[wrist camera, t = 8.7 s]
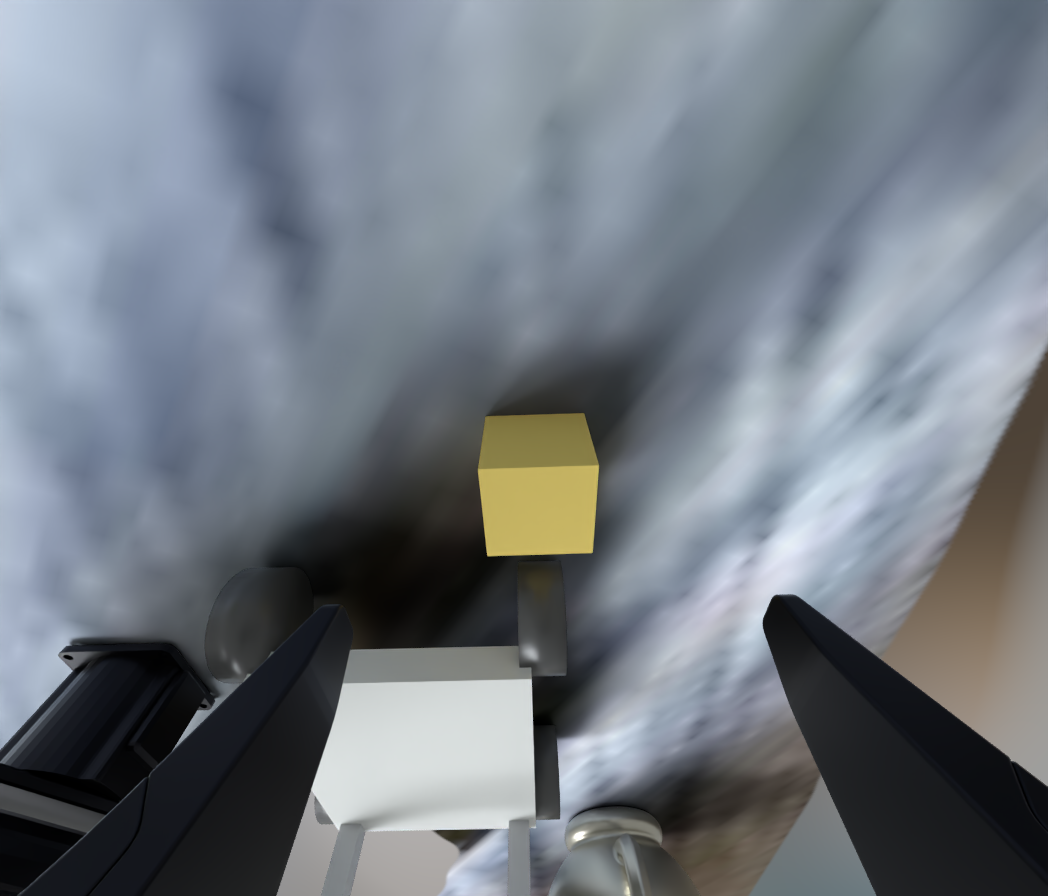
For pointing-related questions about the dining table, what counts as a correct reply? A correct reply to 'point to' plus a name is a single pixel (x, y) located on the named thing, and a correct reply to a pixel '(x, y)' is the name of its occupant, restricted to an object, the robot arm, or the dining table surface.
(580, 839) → the teapot
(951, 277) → the dining table surface
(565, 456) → the yellow step block
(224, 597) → the trolley
